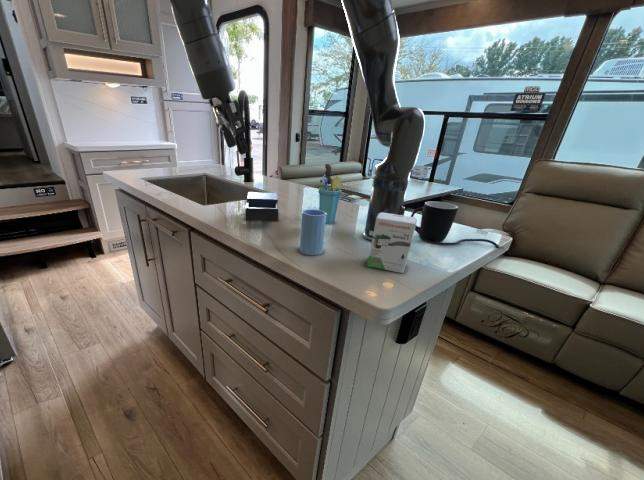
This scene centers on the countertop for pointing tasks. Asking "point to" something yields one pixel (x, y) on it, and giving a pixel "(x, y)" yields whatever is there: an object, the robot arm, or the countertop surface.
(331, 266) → the countertop surface
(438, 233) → the mug
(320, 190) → the cup
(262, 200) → the storage box
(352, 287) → the countertop surface
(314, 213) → the light blue hollow cylinder
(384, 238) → the ink box
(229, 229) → the countertop surface
